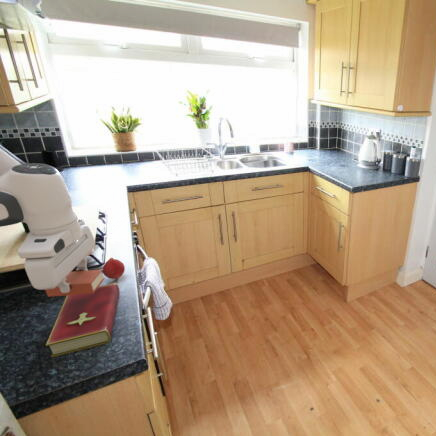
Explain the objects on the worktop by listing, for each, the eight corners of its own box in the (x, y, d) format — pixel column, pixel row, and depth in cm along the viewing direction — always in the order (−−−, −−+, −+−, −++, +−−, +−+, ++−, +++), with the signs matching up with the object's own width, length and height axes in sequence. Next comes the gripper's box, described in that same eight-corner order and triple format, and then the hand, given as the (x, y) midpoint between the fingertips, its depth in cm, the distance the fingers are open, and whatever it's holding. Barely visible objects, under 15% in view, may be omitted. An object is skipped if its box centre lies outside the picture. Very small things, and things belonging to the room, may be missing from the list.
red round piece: (102, 284, 100) (96, 263, 97) (110, 274, 105) (104, 253, 102) (123, 283, 101) (117, 261, 98) (129, 273, 106) (124, 252, 103)
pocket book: (47, 296, 77) (43, 286, 76) (62, 282, 83) (58, 272, 81) (93, 293, 79) (90, 283, 78) (104, 279, 84) (101, 269, 83)
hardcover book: (120, 293, 96) (117, 281, 95) (111, 341, 79) (107, 329, 77) (72, 303, 92) (67, 291, 90) (51, 357, 74) (45, 344, 73)
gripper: (67, 215, 83) (82, 261, 89) (11, 256, 65) (35, 309, 70) (94, 214, 84) (107, 259, 90) (46, 254, 66) (67, 307, 71)
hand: (75, 282), depth 80 cm, fingers closed on pocket book, 6 cm apart
